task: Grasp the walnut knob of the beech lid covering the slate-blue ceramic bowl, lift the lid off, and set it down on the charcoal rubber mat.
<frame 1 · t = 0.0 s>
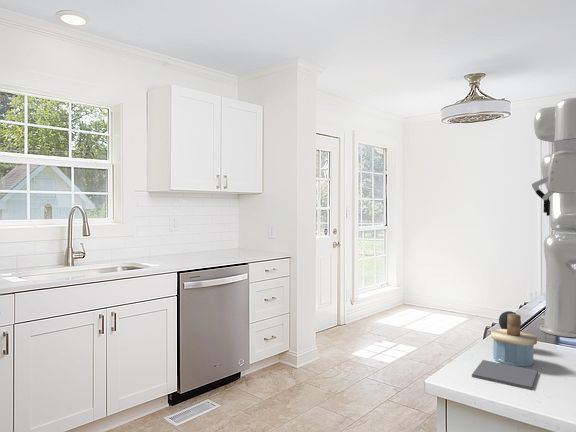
hand: (570, 216, 109), 37 cm above the worktop, tool pointing down, fingers open, 9 cm apart
light bulb: (509, 347, 122), on the worktop
lid: (513, 339, 110), point 5 cm above the worktop, touching bowl
bowl: (513, 360, 110), on the worktop
mat: (505, 374, 100), on the worktop
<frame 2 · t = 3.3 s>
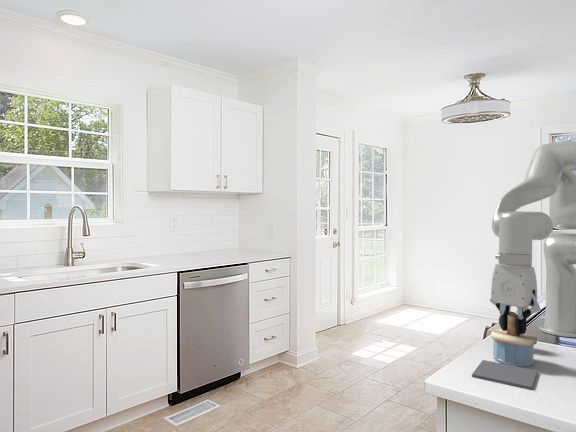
hand: (513, 331, 110), 8 cm above the worktop, tool pointing down, fingers closed on lid, 3 cm apart
lid: (513, 339, 110), point 5 cm above the worktop, touching bowl, gripper
everything else where it was.
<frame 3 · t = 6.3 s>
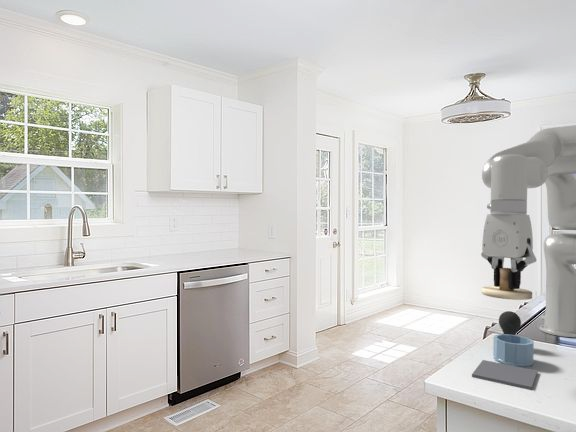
hand: (506, 286, 100), 21 cm above the worktop, tool pointing down, fingers closed on lid, 3 cm apart
lid: (506, 295, 100), point 19 cm above the worktop, touching gripper
everything else where it was.
when the fingers open (4 cm above the worktop, at t = 9.4 s): lid drops 1 cm, resting on mat.
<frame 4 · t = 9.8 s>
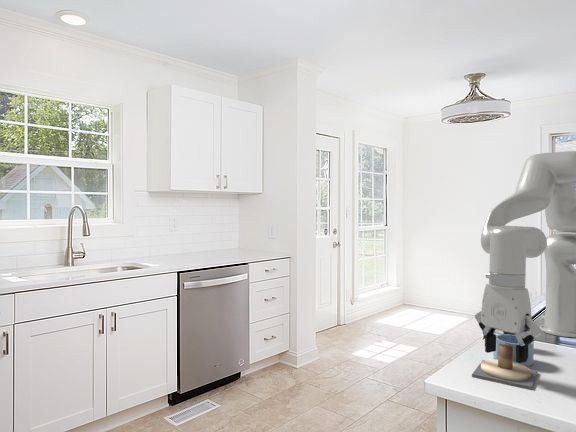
hand: (505, 356, 100), 4 cm above the worktop, tool pointing down, fingers open, 7 cm apart
lid: (505, 372, 100), point 1 cm above the worktop, touching mat
everything else where it was.
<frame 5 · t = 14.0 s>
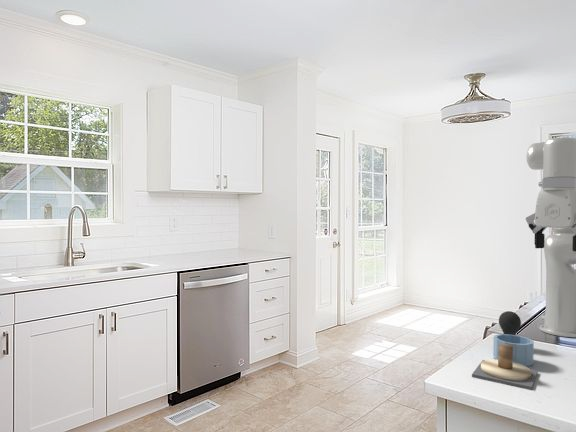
hand: (557, 249, 114), 28 cm above the worktop, tool pointing down, fingers open, 9 cm apart
nothing on the worktop moved.
at the end: lid 0.0 cm from the mat (horizontally); lid point 0.6 cm above the worktop; lid tilted 0° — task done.
